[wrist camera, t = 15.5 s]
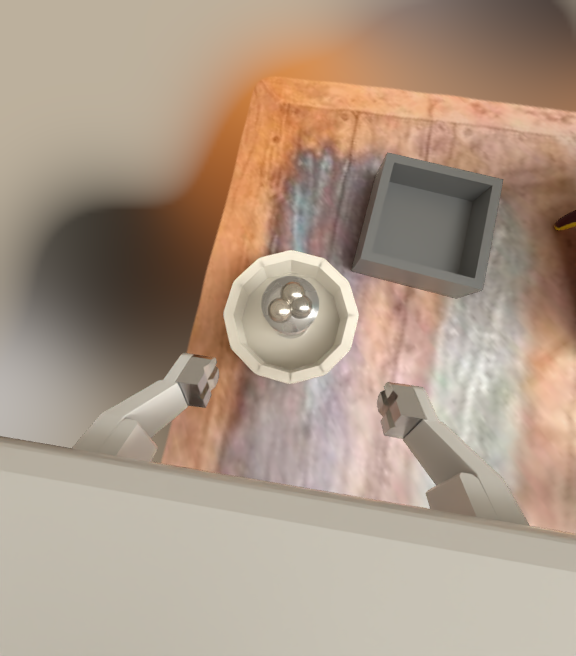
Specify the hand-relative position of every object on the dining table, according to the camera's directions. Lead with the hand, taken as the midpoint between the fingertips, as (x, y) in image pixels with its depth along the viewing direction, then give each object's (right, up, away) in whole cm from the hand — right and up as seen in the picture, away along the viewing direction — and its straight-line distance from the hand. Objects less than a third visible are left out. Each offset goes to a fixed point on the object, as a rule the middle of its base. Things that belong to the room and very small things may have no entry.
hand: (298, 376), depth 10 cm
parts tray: (+15, +14, +16) cm, 26 cm away
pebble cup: (0, +3, +14) cm, 14 cm away
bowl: (0, +3, +15) cm, 15 cm away
